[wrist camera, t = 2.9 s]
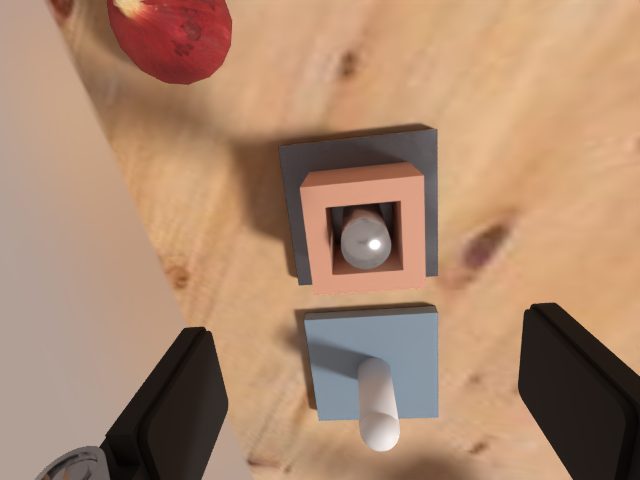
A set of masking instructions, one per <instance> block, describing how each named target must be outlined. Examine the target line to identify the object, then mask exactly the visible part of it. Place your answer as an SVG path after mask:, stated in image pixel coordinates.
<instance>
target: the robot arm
mask: <svg viewBox="0 0 640 480" xmlns="http://www.w3.org/2000/svg"><path fill="white" fill-rule="evenodd" d="M518 389H519V393H520V396H521V398H522V400H523V402H524V403H525V405H526V406H527V408H528V409H529V411H530V413H531V414H532V416H533V417H534V419H535V420H536V422H537V424H538V425H539V427H540V428H541V430H542V432H543V433H544V435H545V436H546V438H547V439H548V441H549V443H550V444H551V446H552V447H553V449H554V450H555V452H556V454H557V455H558V457H559V458H560V460H561V462H562V463H563V465H564V466H565V468H566V469H567V471H568V473H569V474H570V476H571V477H572V479H573V480H640V376H639V375H637V374H636V373H635V372H634V371H633V370H632V369H631V368H629V367H628V366H627V365H626V364H625V363H624V362H623V361H622V360H620V359H619V358H618V357H617V356H616V355H615V354H614V353H612V352H611V351H610V350H609V349H608V348H607V347H606V346H604V345H603V344H602V343H601V342H600V341H599V340H598V339H596V338H595V337H594V336H593V335H592V334H591V333H590V332H589V331H587V330H586V329H585V328H584V327H583V326H582V325H581V324H579V323H578V322H577V321H576V320H575V319H574V318H573V317H571V316H570V315H569V314H568V313H567V312H566V311H565V310H564V309H562V308H561V307H560V306H559V305H558V304H556V303H539V304H532V305H531V307H530V309H527V310H525V312H524V319H523V331H522V343H521V355H520V367H519V380H518ZM227 411H228V397H227V393H226V389H225V385H224V381H223V377H222V373H221V369H220V365H219V361H218V357H217V353H216V349H215V344H214V340H213V336H212V333H211V332H210V331H206V329H205V327H189V328H184V329H183V330H182V331H181V333H180V334H179V336H178V337H177V338H176V340H175V341H174V343H173V344H172V345H171V346H170V348H169V349H168V351H167V352H166V353H165V355H164V356H163V357H162V359H161V360H160V362H159V363H158V364H157V365H156V367H155V368H154V370H153V371H152V372H151V374H150V375H149V376H148V378H147V379H146V380H145V382H144V383H143V385H142V386H141V387H140V389H139V390H138V392H137V393H136V394H135V395H134V397H133V398H132V400H131V401H130V402H129V404H128V405H127V406H126V408H125V409H124V410H123V412H122V413H121V414H120V416H119V417H118V419H117V420H116V421H115V423H114V424H113V426H112V427H111V428H110V430H109V431H108V432H107V434H106V435H105V436H106V439H105V440H104V441H103V443H102V444H101V445H100V447H97V446H86V447H82V448H77V449H75V450H72V451H70V452H68V453H66V454H64V455H62V456H61V457H59V458H57V459H56V460H54V461H53V462H52V463H51V464H49V465H48V466H47V467H46V468H44V470H43V471H42V472H41V473H40V474H39V475H38V476H37V477H36V479H35V480H201V479H202V476H203V474H204V471H205V468H206V466H207V463H208V461H209V458H210V456H211V452H212V450H213V448H214V445H215V442H216V440H217V437H218V434H219V432H220V429H221V427H222V424H223V422H224V419H225V416H226V414H227Z"/></svg>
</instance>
